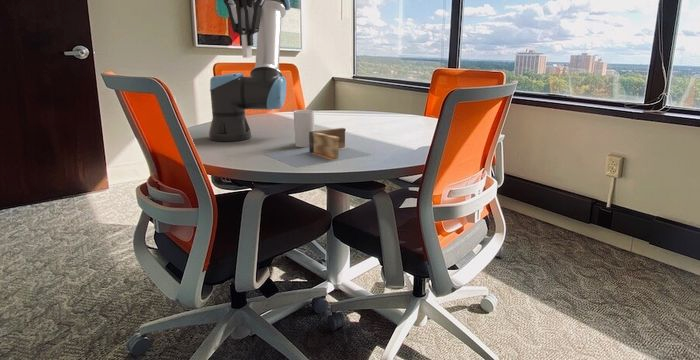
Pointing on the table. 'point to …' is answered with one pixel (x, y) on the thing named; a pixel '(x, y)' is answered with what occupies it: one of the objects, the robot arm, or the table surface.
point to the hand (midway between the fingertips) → (247, 57)
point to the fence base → (334, 132)
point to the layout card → (312, 156)
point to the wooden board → (326, 144)
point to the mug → (303, 126)
